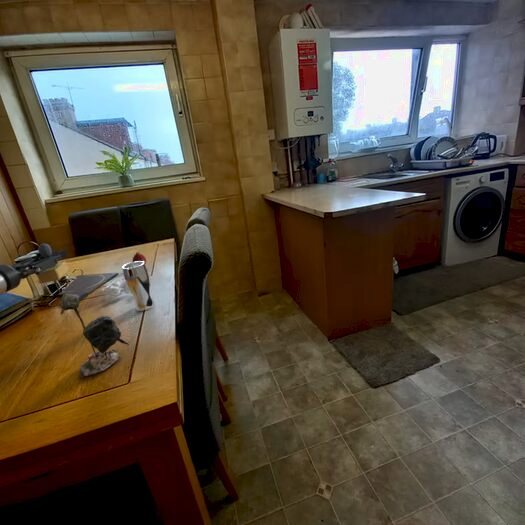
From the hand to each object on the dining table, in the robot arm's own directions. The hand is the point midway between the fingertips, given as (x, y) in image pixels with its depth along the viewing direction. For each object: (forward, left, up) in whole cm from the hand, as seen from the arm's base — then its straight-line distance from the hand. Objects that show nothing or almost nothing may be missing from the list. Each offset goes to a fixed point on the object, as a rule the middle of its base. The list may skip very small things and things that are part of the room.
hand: (61, 253), depth 99 cm
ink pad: (-1, -1, -18) cm, 18 cm away
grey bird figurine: (+36, -36, -18) cm, 55 cm away
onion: (+10, +29, -18) cm, 35 cm away
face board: (-8, +13, -18) cm, 23 cm away
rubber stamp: (0, -5, -7) cm, 9 cm away
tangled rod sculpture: (+15, +7, -18) cm, 25 cm away
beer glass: (+32, -9, -18) cm, 38 cm away
